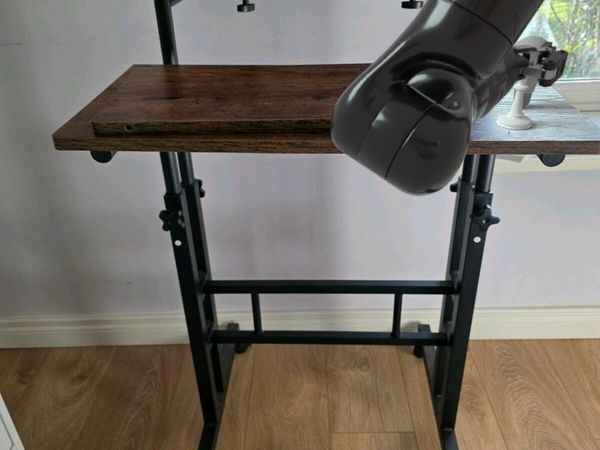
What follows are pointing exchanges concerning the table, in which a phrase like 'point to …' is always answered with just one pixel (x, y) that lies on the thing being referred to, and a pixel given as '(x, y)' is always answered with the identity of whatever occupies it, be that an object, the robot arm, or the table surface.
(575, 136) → the table surface
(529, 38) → the lightbulb
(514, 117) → the chess piece
